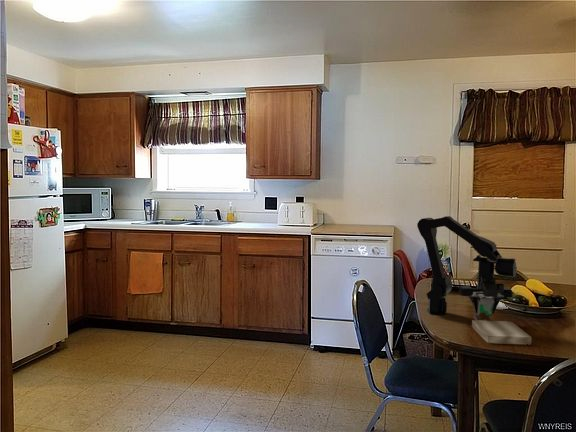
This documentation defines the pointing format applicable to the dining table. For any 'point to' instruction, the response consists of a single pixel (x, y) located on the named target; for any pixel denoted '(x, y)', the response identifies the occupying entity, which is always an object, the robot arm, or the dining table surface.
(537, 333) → the dining table surface
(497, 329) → the pale grey slab
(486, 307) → the food container
